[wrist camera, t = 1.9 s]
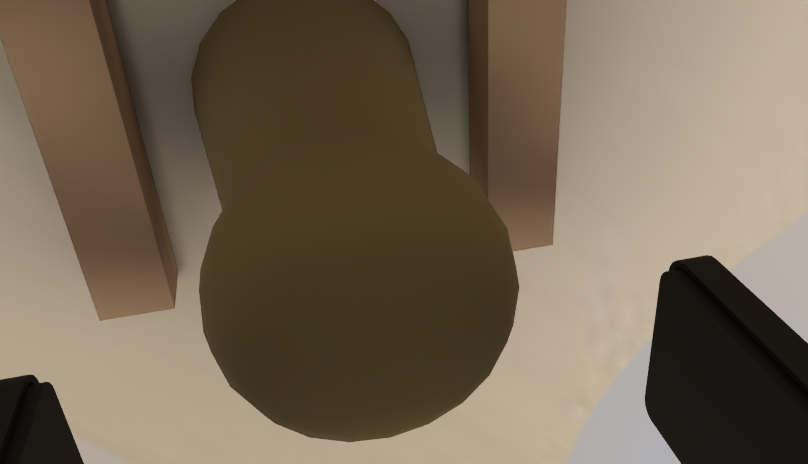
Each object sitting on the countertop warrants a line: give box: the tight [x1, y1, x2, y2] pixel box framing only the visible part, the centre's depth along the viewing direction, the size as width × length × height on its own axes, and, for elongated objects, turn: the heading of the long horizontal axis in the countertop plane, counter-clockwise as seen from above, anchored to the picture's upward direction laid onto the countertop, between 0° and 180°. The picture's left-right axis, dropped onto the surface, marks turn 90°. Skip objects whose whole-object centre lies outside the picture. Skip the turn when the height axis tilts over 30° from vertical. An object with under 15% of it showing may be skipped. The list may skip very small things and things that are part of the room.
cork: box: [192, 0, 519, 442], centre depth 16 cm, size 6×6×11 cm
